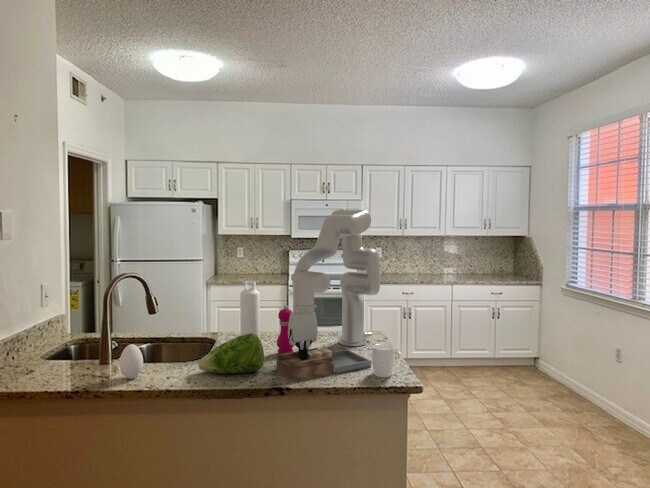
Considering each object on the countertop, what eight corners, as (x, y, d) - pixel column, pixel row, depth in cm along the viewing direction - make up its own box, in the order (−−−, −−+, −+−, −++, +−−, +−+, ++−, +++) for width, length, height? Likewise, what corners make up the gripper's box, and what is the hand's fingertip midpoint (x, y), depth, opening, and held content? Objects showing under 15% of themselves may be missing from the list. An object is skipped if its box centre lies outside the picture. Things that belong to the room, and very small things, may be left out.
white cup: (367, 371, 164) (368, 344, 163) (386, 369, 167) (387, 342, 166) (378, 379, 156) (379, 351, 156) (398, 376, 160) (398, 348, 159)
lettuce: (204, 379, 167) (197, 343, 167) (267, 363, 170) (259, 329, 171) (199, 388, 153) (191, 349, 153) (267, 371, 156) (259, 333, 157)
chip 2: (325, 354, 170) (325, 348, 170) (331, 358, 166) (331, 351, 166) (315, 356, 168) (315, 349, 168) (321, 359, 164) (321, 353, 164)
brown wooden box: (314, 362, 174) (314, 347, 173) (333, 373, 162) (334, 357, 161) (276, 369, 165) (276, 353, 165) (293, 381, 153) (294, 364, 153)
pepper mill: (293, 356, 180) (293, 307, 179) (275, 356, 180) (275, 306, 179) (295, 351, 187) (295, 303, 186) (277, 350, 188) (278, 303, 186)
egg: (124, 374, 158) (124, 341, 157) (146, 374, 159) (145, 341, 158) (116, 382, 151) (115, 347, 150) (139, 382, 151) (138, 347, 151)
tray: (347, 355, 183) (347, 349, 182) (370, 367, 169) (370, 360, 169) (313, 361, 175) (313, 355, 174) (336, 374, 161) (336, 367, 161)
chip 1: (315, 356, 168) (315, 349, 168) (321, 359, 164) (321, 353, 164) (304, 358, 166) (304, 351, 165) (310, 361, 162) (310, 355, 162)
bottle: (237, 348, 190) (237, 282, 188) (244, 343, 198) (244, 279, 196) (255, 350, 188) (255, 283, 186) (262, 344, 196) (262, 280, 194)
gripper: (316, 305, 169) (315, 353, 170) (280, 309, 161) (279, 359, 162) (326, 308, 162) (326, 359, 163) (289, 313, 155) (288, 365, 156)
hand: (303, 359), depth 163 cm, fingers closed
